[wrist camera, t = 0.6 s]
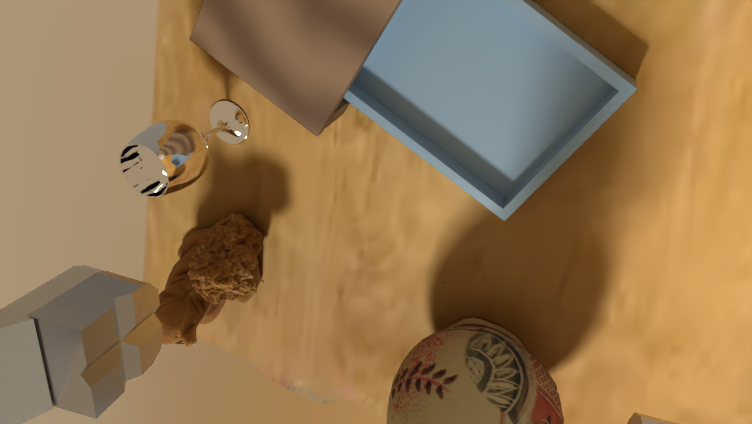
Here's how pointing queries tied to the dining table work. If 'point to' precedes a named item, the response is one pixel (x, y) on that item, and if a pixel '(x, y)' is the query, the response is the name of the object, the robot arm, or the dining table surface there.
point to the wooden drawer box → (295, 49)
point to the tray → (488, 93)
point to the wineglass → (178, 151)
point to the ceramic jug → (473, 380)
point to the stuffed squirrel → (209, 277)
